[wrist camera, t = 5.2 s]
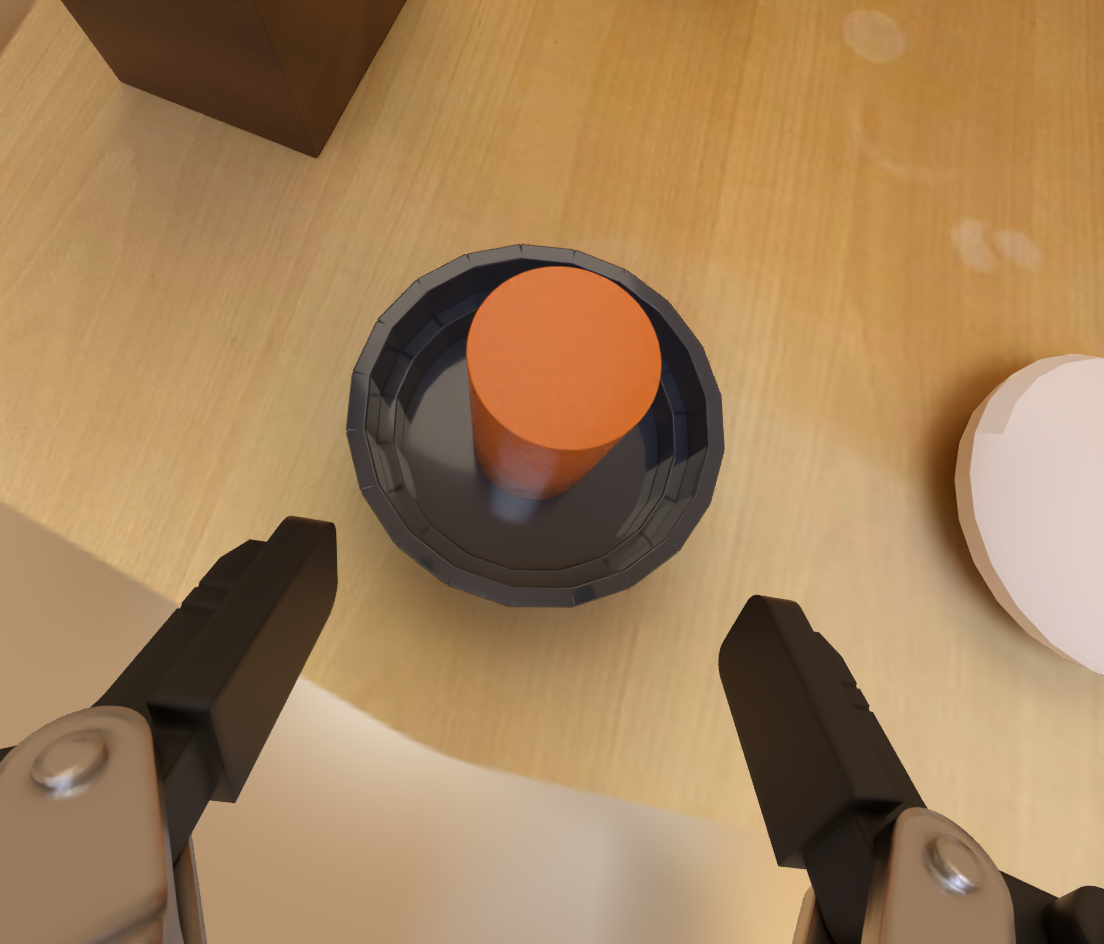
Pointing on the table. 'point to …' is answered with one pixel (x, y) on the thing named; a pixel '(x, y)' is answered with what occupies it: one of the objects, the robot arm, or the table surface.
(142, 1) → the stand
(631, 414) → the orange can
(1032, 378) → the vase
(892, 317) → the table surface
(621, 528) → the pot
